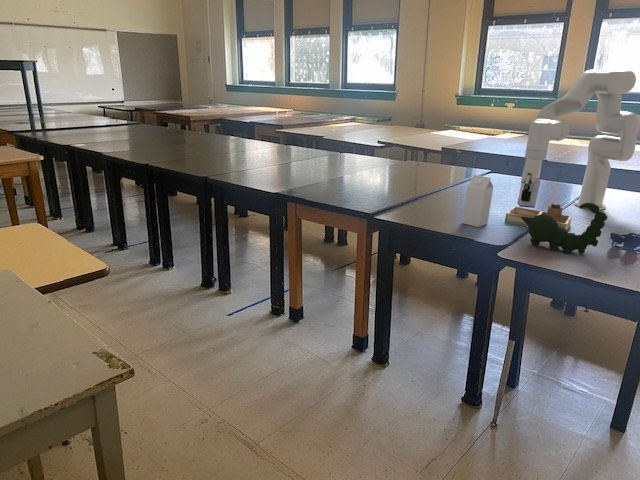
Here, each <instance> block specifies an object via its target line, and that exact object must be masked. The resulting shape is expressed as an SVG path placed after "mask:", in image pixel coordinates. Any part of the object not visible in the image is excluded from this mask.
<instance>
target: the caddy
mask: <svg viewBox="0 0 640 480" xmlns="http://www.w3.org/2000/svg"><path fill="white" fill-rule="evenodd" d="M563 209H564V208H563V207H562V205H561V204H560V203H555V202H553V203H551V205H549V206H548V208H547V211H543V210H538V209H534V208H529V207H520V206H516V205H514V206H512V207H511V208H510V209H509V210H508V211H507V212H506V213H505V219H504V223H507V224H510V225H517V226H521V225H522V227H526V226H528V225H527V224H526V223H525V222H524V221H523V220H522V218H521V217H530V218H533V217H535V216H537V215H543V214H544V215H549V216H551V217H553V218H554V219H555V220H556V221H557V223H558V227H562V228H564V229H565V230H567V231H568V229H569V228H570V226H571V221H572V218H573V216H572V215H566V214H563Z"/></svg>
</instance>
